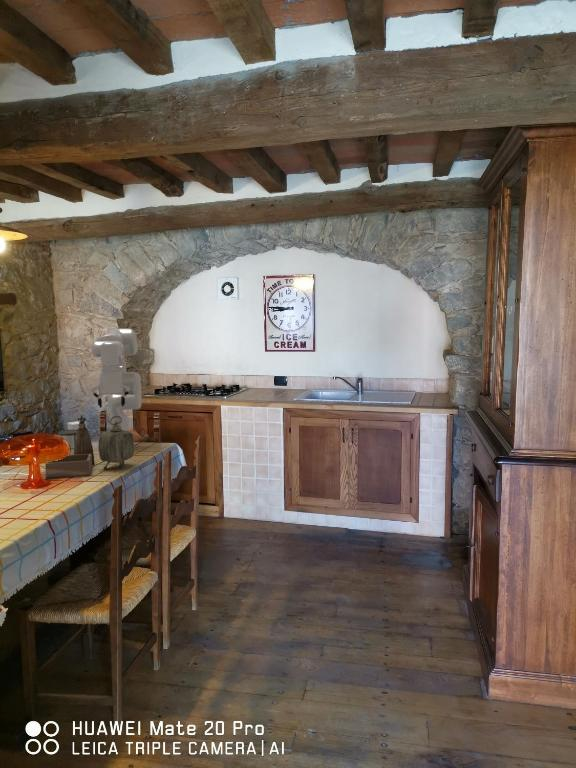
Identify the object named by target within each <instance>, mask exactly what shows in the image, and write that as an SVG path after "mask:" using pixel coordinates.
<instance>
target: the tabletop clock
mask: <svg viewBox="0 0 576 768" xmlns="http://www.w3.org/2000/svg"><path fill="white" fill-rule="evenodd" d="M116 417H119V418H120V419H121V421H120V422H119V423H117V422H115V424H112V423H111V420H112V419H113V418H116ZM111 420H110V419H109V424H111V425H115V426H113V427H112V428H110V429H109V430H105V431H103V432H101V433H100V434H99V436H98V447H97V448H98V455H99V458H100V461H103V462H106V465H104V466H103V467H102V468H103V470H107V469H108V465H110V463H112V464H113V463H114V464H117V463H118V464H119V469H123V467H124V464H125V463H126V461H127V460H129V459H131V458H133V457H134V455H135V442H134V441H135V440H134V438H135V437H134V435H133V433H132V431H130V430H129V431H125V430H122V429H121V427H120V426H118V424H120V423H121V422H122V418H121V417H120V416H114V417H112V418H111Z"/></svg>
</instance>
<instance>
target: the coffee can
mask: <svg viewBox="0 0 576 768" xmlns="http://www.w3.org/2000/svg"><path fill="white" fill-rule="evenodd" d="M76 432H77V430H68V429H64V430H61V431H58V432H57V433H58V437H59V436H62V437H63V438H64V439H66V440H67V441H68V442H69V444H70V447H71V454H70V455H74V444H75V438H76Z"/></svg>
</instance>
